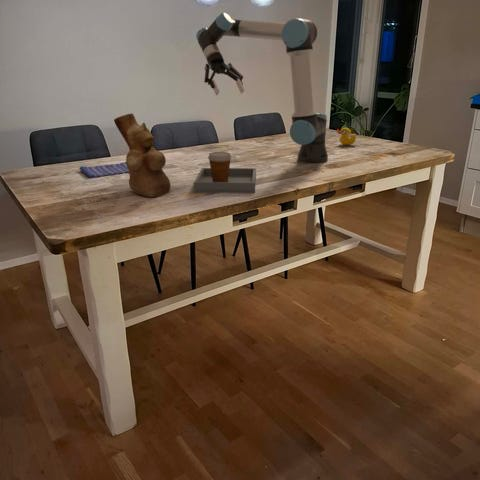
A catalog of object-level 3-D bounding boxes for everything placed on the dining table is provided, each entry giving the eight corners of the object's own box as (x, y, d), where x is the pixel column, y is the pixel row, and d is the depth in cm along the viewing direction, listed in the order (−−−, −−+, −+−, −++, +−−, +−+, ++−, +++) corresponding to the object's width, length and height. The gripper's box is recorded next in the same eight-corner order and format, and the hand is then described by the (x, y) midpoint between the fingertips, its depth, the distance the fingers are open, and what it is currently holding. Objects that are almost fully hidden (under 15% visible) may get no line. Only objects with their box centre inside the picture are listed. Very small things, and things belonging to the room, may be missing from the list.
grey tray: (256, 177, 202) (256, 168, 200) (254, 192, 180) (254, 183, 178) (202, 176, 203) (201, 167, 202) (194, 192, 181) (193, 182, 179)
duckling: (334, 144, 268) (335, 127, 264) (337, 143, 272) (338, 126, 268) (353, 146, 263) (355, 128, 259) (356, 144, 267) (357, 127, 263)
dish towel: (78, 171, 215) (78, 165, 214) (127, 165, 226) (127, 159, 225) (88, 179, 202) (87, 173, 201) (139, 172, 213) (139, 166, 212)
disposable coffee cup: (204, 184, 188) (203, 155, 183) (215, 178, 196) (214, 150, 191) (225, 186, 184) (225, 157, 180) (235, 181, 192) (235, 152, 188)
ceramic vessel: (152, 200, 171) (145, 118, 160) (111, 192, 182) (101, 114, 171) (178, 190, 184) (174, 113, 172) (138, 182, 195) (131, 110, 183)
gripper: (233, 62, 228) (249, 96, 222) (188, 63, 216) (204, 99, 210) (238, 51, 222) (255, 85, 216) (192, 51, 209) (209, 88, 203)
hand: (230, 92), depth 213 cm, fingers open, 13 cm apart
